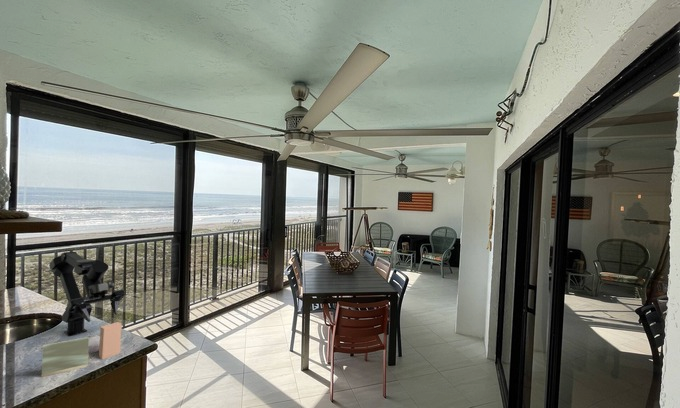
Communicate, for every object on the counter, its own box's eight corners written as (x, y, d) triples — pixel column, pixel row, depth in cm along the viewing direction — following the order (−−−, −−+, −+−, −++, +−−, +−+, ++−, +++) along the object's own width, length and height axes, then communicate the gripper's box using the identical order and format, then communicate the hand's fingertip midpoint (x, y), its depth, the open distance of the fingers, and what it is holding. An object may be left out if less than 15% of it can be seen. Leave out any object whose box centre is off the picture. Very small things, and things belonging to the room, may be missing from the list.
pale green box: (46, 364, 109) (48, 334, 109) (88, 355, 116) (90, 327, 116) (41, 377, 101) (43, 345, 101) (87, 366, 108) (88, 337, 108)
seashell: (112, 332, 130) (110, 336, 122) (111, 345, 129) (108, 350, 121) (82, 336, 124) (77, 341, 116) (80, 350, 123) (76, 356, 115)
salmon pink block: (98, 356, 115) (100, 326, 115) (116, 350, 120) (118, 321, 120) (102, 359, 114) (103, 328, 114) (120, 353, 119) (121, 323, 119)
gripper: (71, 279, 115) (80, 314, 110) (124, 271, 131) (135, 301, 126) (62, 295, 119) (71, 329, 114) (115, 285, 135) (126, 314, 130)
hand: (103, 317), depth 121 cm, fingers open, 9 cm apart
